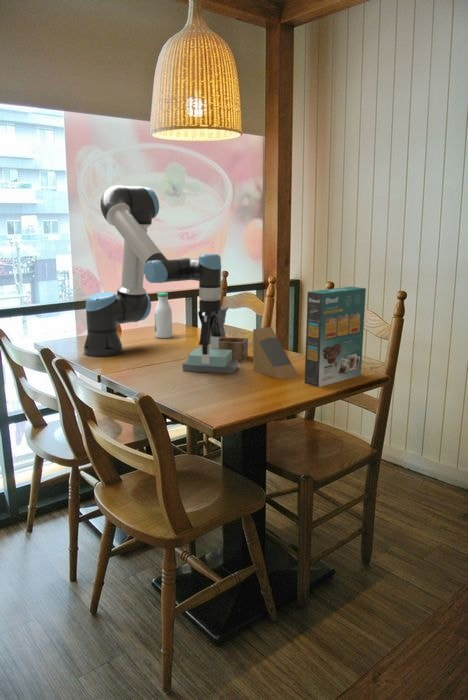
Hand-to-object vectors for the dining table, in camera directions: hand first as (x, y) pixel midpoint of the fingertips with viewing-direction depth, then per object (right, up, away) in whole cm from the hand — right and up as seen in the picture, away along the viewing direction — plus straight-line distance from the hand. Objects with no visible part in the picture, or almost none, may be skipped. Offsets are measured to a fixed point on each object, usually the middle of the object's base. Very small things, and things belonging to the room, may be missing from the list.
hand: (210, 358), depth 200 cm
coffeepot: (0, +6, +44) cm, 44 cm away
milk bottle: (-23, +9, +55) cm, 61 cm away
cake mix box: (+42, -7, -11) cm, 44 cm away
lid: (0, -1, 0) cm, 1 cm away
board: (0, -4, +1) cm, 4 cm away
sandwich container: (+23, -5, -4) cm, 24 cm away
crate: (+8, 0, +17) cm, 19 cm away
